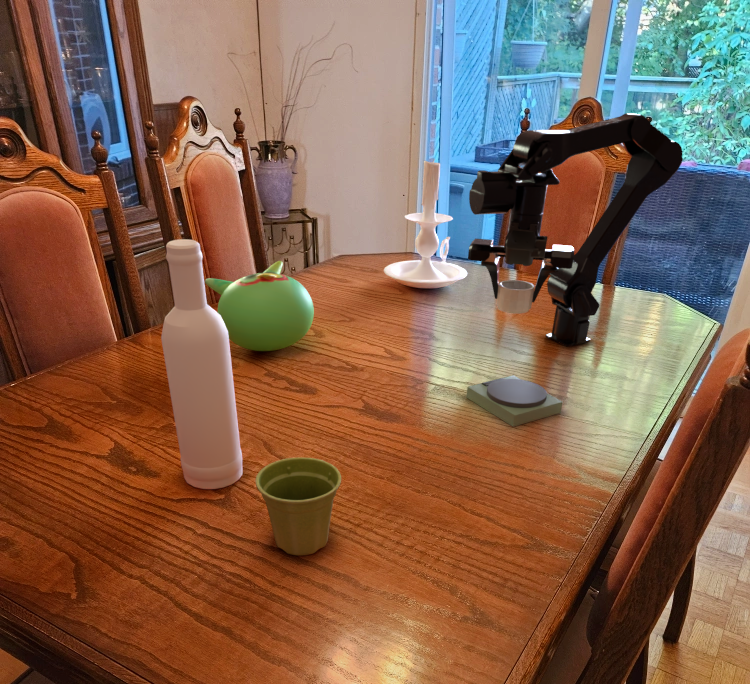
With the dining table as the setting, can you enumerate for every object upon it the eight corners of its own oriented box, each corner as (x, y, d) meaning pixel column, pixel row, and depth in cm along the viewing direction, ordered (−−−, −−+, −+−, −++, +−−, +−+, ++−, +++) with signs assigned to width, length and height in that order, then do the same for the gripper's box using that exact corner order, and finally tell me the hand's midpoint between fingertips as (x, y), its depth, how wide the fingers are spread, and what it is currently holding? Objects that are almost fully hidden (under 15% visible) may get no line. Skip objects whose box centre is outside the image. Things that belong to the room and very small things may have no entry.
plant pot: (263, 518, 82) (258, 457, 77) (340, 516, 82) (339, 455, 77) (259, 567, 74) (252, 502, 69) (343, 564, 75) (343, 500, 70)
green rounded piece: (241, 370, 119) (232, 288, 111) (207, 340, 131) (198, 264, 122) (329, 352, 127) (327, 274, 119) (290, 325, 139) (286, 253, 131)
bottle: (176, 467, 91) (137, 238, 74) (232, 454, 94) (206, 231, 78) (194, 496, 85) (155, 254, 69) (252, 481, 89) (229, 247, 72)
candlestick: (483, 276, 173) (496, 155, 157) (447, 301, 154) (458, 168, 139) (411, 265, 180) (416, 149, 165) (369, 288, 162) (370, 160, 146)
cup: (489, 306, 128) (491, 282, 126) (515, 301, 131) (518, 278, 129) (511, 316, 124) (514, 292, 121) (538, 311, 126) (541, 287, 124)
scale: (466, 397, 111) (467, 382, 110) (511, 385, 116) (514, 370, 114) (513, 426, 103) (515, 410, 101) (560, 412, 107) (563, 397, 106)
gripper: (468, 217, 113) (459, 308, 122) (581, 225, 109) (563, 318, 118) (476, 205, 122) (467, 290, 131) (580, 212, 118) (564, 300, 127)
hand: (514, 300), depth 126 cm, fingers closed on cup, 7 cm apart
